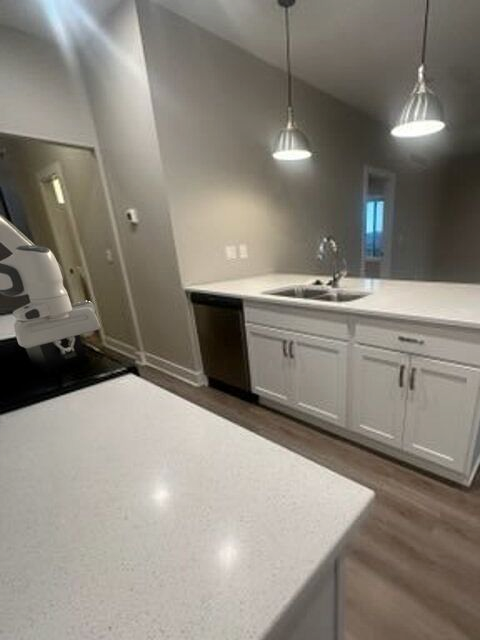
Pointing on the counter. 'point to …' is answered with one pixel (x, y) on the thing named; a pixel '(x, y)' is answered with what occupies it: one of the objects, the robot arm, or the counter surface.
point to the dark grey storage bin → (56, 356)
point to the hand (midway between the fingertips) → (68, 352)
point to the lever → (68, 355)
